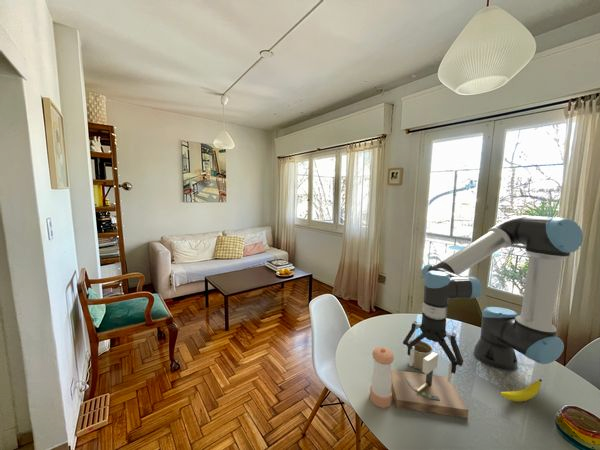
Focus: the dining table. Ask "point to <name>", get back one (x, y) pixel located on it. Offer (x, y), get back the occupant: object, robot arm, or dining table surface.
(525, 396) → the banana
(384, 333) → the dining table surface
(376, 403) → the salt shaker
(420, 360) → the flower pot
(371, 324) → the dining table surface
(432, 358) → the white angular block
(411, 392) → the tuner board
